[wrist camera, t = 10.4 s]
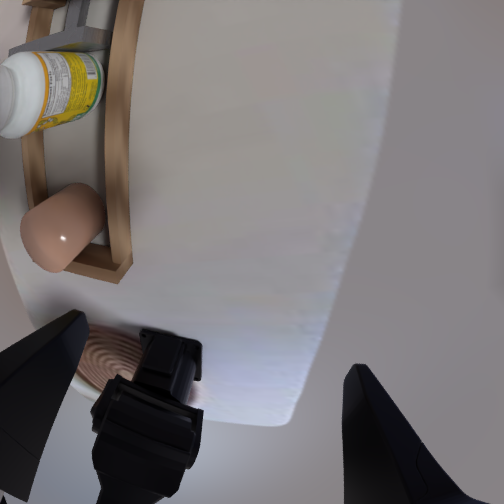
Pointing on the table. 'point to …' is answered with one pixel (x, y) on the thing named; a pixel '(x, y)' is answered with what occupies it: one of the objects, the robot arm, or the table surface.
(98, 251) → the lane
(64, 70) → the supplement bottle
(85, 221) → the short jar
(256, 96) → the table surface
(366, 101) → the table surface
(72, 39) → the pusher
